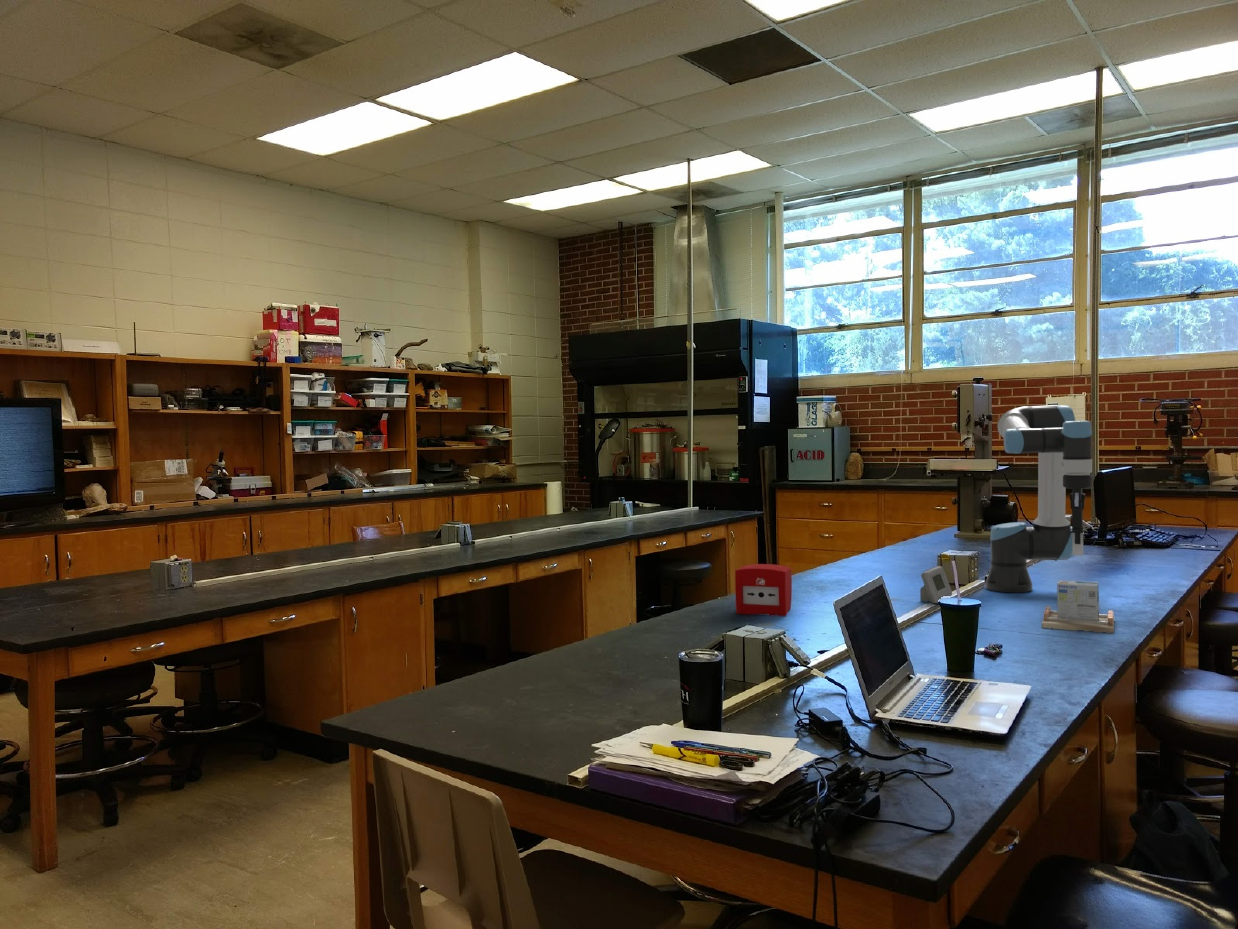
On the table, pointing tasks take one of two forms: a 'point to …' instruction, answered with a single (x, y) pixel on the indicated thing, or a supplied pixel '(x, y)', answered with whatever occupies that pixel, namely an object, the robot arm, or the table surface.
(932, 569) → the digital clock
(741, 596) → the fire alarm
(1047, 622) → the mounting board
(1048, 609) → the rectangular frame
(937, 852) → the table surface
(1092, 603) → the light bulb box
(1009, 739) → the table surface
